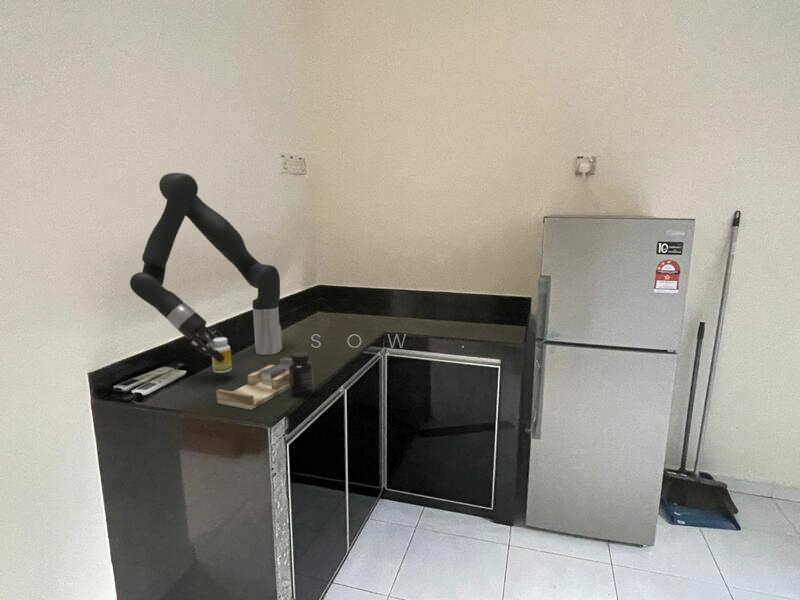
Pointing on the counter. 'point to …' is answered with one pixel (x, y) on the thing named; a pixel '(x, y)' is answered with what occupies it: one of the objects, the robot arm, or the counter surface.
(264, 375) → the shaft
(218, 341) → the supplement bottle
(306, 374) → the supplement bottle
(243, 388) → the cradle
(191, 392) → the counter surface
